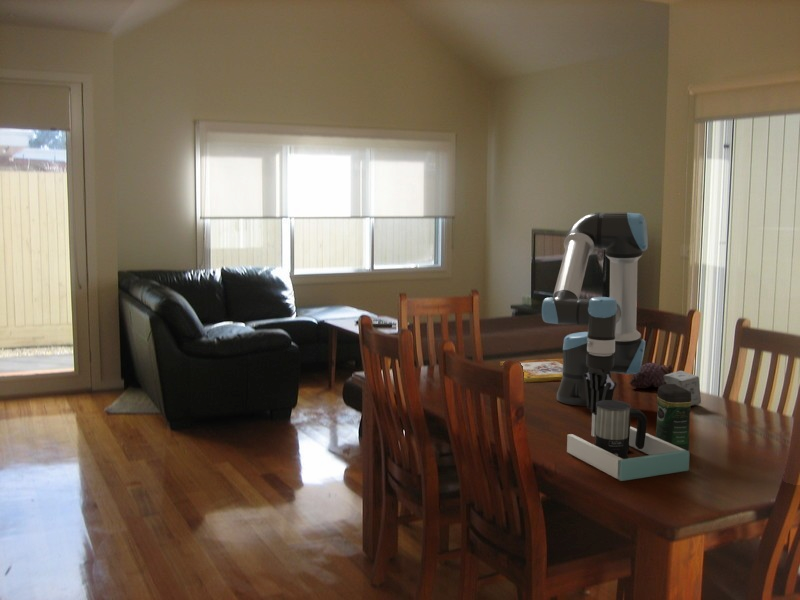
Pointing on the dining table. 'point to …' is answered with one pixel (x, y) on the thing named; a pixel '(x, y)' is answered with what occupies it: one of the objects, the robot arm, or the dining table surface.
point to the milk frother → (618, 427)
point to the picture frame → (542, 370)
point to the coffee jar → (673, 415)
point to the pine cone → (650, 375)
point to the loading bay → (656, 463)
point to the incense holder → (686, 384)
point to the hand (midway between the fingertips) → (596, 435)
